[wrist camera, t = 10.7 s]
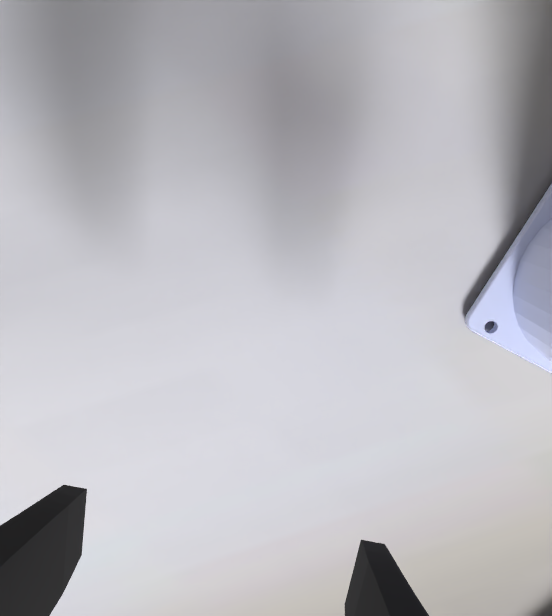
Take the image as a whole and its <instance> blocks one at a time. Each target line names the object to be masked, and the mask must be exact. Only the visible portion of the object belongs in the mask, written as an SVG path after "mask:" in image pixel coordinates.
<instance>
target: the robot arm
mask: <svg viewBox="0 0 552 616" xmlns="http://www.w3.org/2000/svg"><path fill="white" fill-rule="evenodd" d="M489 321H494V326H493V328H492V329H491V330H488V331H486V330H485V329H484V327H485V324H486V323H487V322H489ZM465 323H466V325H467V327H468V328H469V329H470V330H472V331H473V332H474V333H476V334H478V335H480V336H482V337H484V338H486V339H488V340H490V341H492V342H493V343H495V344H497V345H499V346H501V347H503V348H505V349H507V350H509V351H510V352H512V353H514V354H516V355H518V356H520V357H522V358H524V359H526V360H528V361H529V362H531V363H533V364H535V365H537V366H539V367H541V368H543V369H545V370H546V371H548V372H550V373H552V183H551V185H550V187H549V188H548V190H547V191H546V193H545V194H544V196H543V197H542V199H541V200H540V202H539V203H538V205H537V207H536V208H535V210H534V211H533V213H532V214H531V216H530V217H529V219H528V220H527V222H526V223H525V225H524V227H523V228H522V230H521V231H520V233H519V234H518V236H517V237H516V239H515V240H514V242H513V244H512V245H511V247H510V248H509V250H508V251H507V253H506V254H505V256H504V257H503V259H502V260H501V262H500V264H499V265H498V267H497V268H496V270H495V271H494V273H493V274H492V276H491V277H490V279H489V280H488V282H487V284H486V285H485V287H484V288H483V290H482V291H481V293H480V294H479V296H478V297H477V299H476V300H475V302H474V304H473V305H472V307H471V308H470V310H469V311H468V313H467V315H466V317H465ZM86 493H87V489H84V488H78V487H73V486H68V485H63V486H61V487H60V488H58V489H57V490H55V491H53V492H52V493H50V494H49V495H47V496H46V497H44V498H43V499H41V500H40V501H38V502H36V503H35V504H33V505H32V506H30V507H29V508H27V509H26V510H24V511H23V512H21V513H20V514H18V515H17V516H15V517H13V518H12V519H10V520H9V521H7V522H5V523H4V524H2V525H1V526H0V616H49V615H50V614H51V612H52V610H53V609H54V607H55V606H56V604H57V602H58V601H59V599H60V597H61V596H62V594H63V592H64V590H65V588H66V586H67V584H68V582H69V580H70V578H71V576H72V574H73V572H74V570H75V567H76V565H77V563H78V561H79V559H80V557H81V555H82V542H83V530H84V518H85V505H86ZM345 616H429V615H428V613H427V612H426V610H425V609H424V607H423V606H422V604H421V603H420V601H419V600H418V598H417V597H416V595H415V593H414V592H413V590H412V589H411V587H410V585H409V584H408V582H407V580H406V579H405V577H404V575H403V574H402V572H401V570H400V569H399V567H398V565H397V564H396V562H395V560H394V559H393V557H392V555H391V554H390V552H389V550H388V549H387V547H386V546H385V544H381V543H375V542H370V541H365V540H361V542H360V546H359V550H358V554H357V558H356V562H355V566H354V570H353V574H352V578H351V582H350V586H349V590H348V594H347V598H346V602H345Z"/></svg>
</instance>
